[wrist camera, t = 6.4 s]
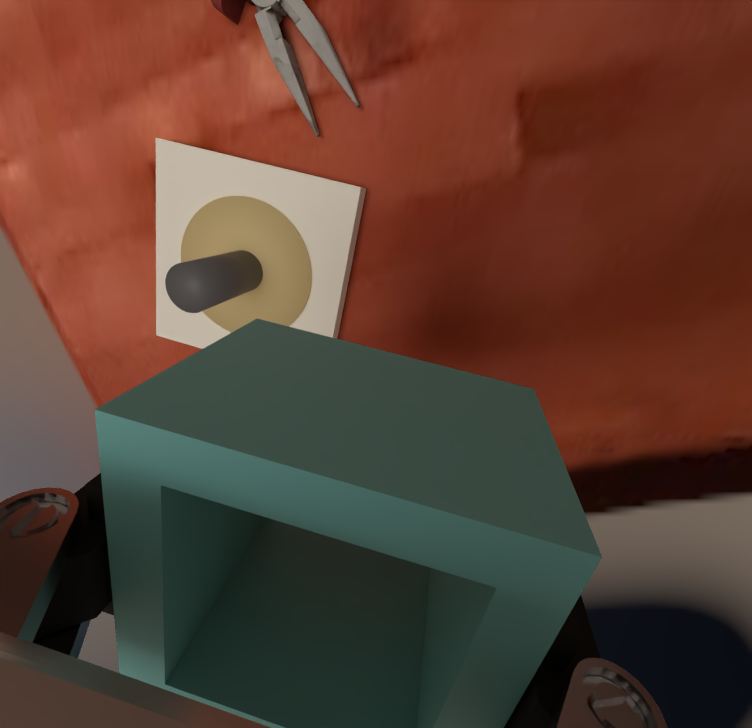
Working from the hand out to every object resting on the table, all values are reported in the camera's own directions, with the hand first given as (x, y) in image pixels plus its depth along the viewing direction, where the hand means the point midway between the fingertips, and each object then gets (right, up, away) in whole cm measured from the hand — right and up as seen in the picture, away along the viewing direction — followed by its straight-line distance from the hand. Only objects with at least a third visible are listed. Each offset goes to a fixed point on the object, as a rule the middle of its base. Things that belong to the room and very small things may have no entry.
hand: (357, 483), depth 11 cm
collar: (0, 0, +1) cm, 1 cm away
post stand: (-8, +10, +17) cm, 21 cm away
